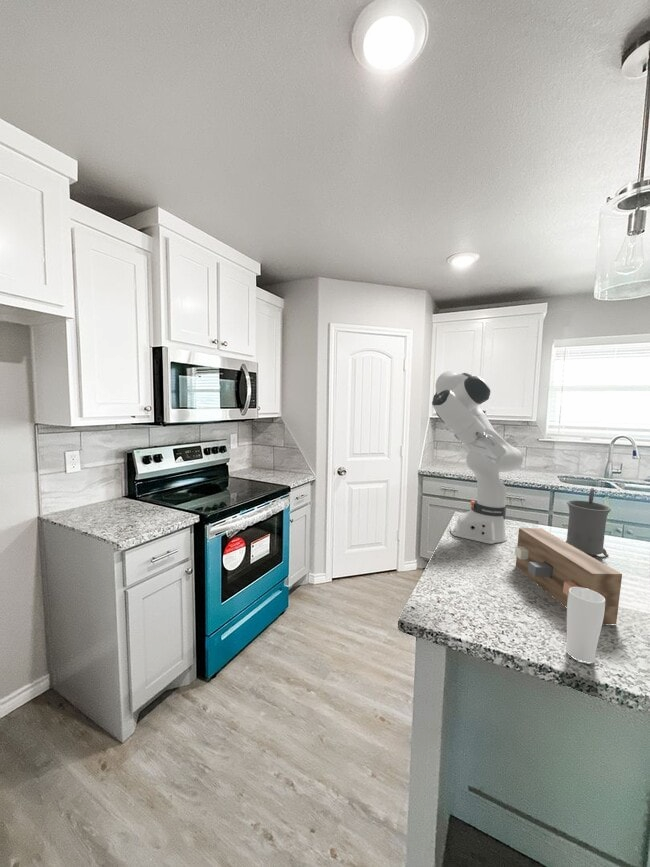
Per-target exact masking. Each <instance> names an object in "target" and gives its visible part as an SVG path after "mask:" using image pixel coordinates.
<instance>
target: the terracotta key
mask: <svg viewBox="0 0 650 867" xmlns="http://www.w3.org/2000/svg"><path fill="white" fill-rule="evenodd" d="M572 587H581V586H580V585H578V584H577V583H575V582H564V587H563V592H564V593H565V594H566V595H567V596H568V593H569V589H570V588H572ZM582 588H583V587H582Z"/></svg>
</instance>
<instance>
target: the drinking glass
mask: <svg viewBox="0 0 650 867" xmlns="http://www.w3.org/2000/svg"><path fill="white" fill-rule="evenodd" d="M604 612H605V598H604V597H603V596H602V595H601V594H599V593H597V592H595V591H593V590H590V589H586V588H582V587H572V588H570V589H569V593H568V599H567V609H566V646H565V651H567V652H568V653H569V654H570V655H571V656H573V657H574V658H576V659H579V660H582V661H586V662H592V661H594V660H595V661H596V654H597V650H598V649H597V648H598V644H599V640H600V636H601V631H602V626H603V625H602V623H603V619H604ZM567 652H566V653H567ZM595 661H594V662H595Z"/></svg>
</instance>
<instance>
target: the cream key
mask: <svg viewBox="0 0 650 867" xmlns="http://www.w3.org/2000/svg"><path fill="white" fill-rule="evenodd" d="M514 556H515V557H516V556H517V557H518V558H519V559H528V556H529V550H528V549H527V548H525V547H524V546H517V545H516V546H515V548H514Z"/></svg>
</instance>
